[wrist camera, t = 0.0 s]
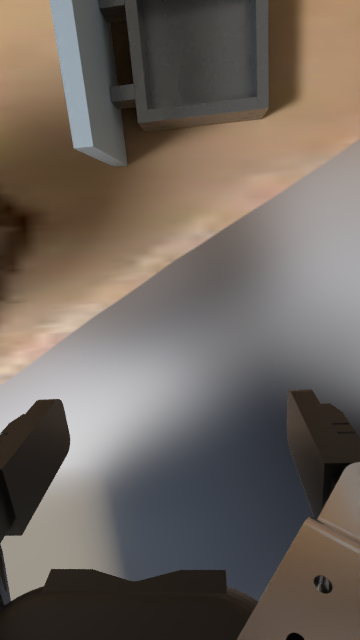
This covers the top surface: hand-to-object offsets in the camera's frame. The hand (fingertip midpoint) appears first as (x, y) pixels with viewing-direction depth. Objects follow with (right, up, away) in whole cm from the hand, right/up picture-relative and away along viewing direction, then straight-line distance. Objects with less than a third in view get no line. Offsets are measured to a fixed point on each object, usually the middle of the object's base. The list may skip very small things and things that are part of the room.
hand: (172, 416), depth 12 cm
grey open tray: (+1, +29, +21) cm, 36 cm away
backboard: (-7, +29, +22) cm, 37 cm away
